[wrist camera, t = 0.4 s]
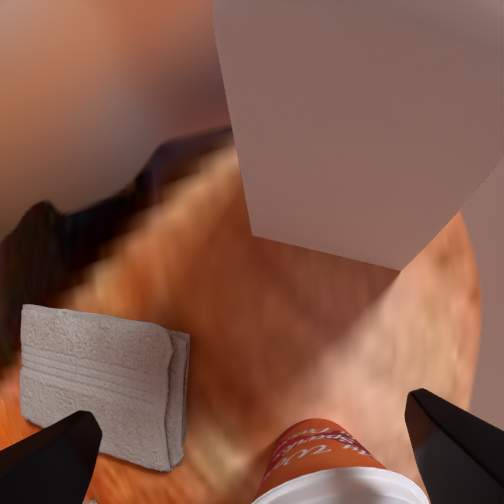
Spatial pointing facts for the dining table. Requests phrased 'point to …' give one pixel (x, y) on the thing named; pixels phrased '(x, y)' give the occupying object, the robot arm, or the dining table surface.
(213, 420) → the dining table surface
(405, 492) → the paper cup
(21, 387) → the washcloth
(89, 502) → the dish
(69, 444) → the robot arm
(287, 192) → the milk
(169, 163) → the dining table surface
